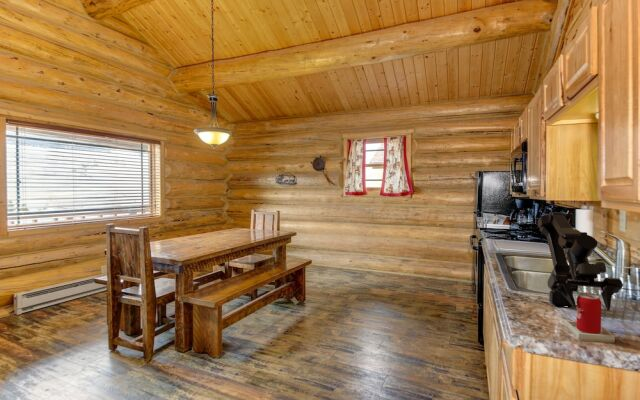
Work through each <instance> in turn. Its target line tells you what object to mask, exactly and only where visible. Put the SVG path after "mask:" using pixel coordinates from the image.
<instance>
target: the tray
mask: <svg viewBox="0 0 640 400" xmlns="http://www.w3.org/2000/svg"><path fill="white" fill-rule="evenodd" d="M564 322H565V323H564V326H565V328H566V329H567V330H568V331H570V333H571V334H572V335H574V337H575V338H576V339H577V340H579V341H587V342H589V341H590V342H601V343H603V342H604V343H612V344H613V343H614V344H615V342H616V341H615V339H616V336H615V335H614V334H613V333H611V332H610V331H609V330H608V329H607V328H605V327H604V326H603V325H601V333H600V334H586V333H582V332H580V331H579V330H578V329H577V320H564Z"/></svg>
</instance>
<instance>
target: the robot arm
mask: <svg viewBox="0 0 640 400" xmlns="http://www.w3.org/2000/svg"><path fill="white" fill-rule="evenodd" d="M537 227H538V228H539V230H540V232H541V234H542V235H543V236H545V238H546V241H547V244H548V248H549V252H550V256H551V260H552V265H553V269H552V271H551V273H550V276H549V277H548V280H547V287H548V288H549V289H550V291H549V299H548V301H549V302H550V303H551V304H552V306H554V307H555V308H562V307H561V306H568V307H574V309H575V308H577V303H576V301H575V298H574V292H577V293H578V289H579V287H589V288H590V287H592V288H600V289H601V291H602V292H601V293H600V294H601V297H602V300H603V301H602V302H603V304H604V307H605V308H606V311H610V310H611V303H612V296H613V295H614V294H617V293H619V291H621V289H622V288H623V287H624V284H623V281H622V280H621V279H620V278H619V277H604V278H603V280H602V281H601V280H600V281H599V280H595V279H598V276H599V275H601V274H605V273H606V272H607V266H606V263H605V262H603V261H602V262H601V261H598V262H596V263H590V261H589V257H591V256H592V254H593V253H594V251H595V250H596V248H597V246H598V241H597V239H595V238H594V237H593V236H592V235H589V234H588V232H586V231H584V232H583V231H581V230H577V229H574V228H573V226H572V225H571V224H570V222H569V221H568V219H567V218H566V215H565V213H564V212H561V211H560V212H557V211H556V212H553V211H551V212H549V213H547V214H545V215H542V216H539V218H538V220H537ZM565 250H567V251H566V253H565ZM568 307H567V308H568Z"/></svg>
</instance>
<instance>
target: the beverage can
mask: <svg viewBox="0 0 640 400" xmlns="http://www.w3.org/2000/svg"><path fill="white" fill-rule="evenodd" d="M576 321H577V329H578V330H579V331H580V332H582V333H586V334H600V333H601V326H602V300H601V298H600V296H599V295H597V294H594V293H591V292H590V293H589V292H579V294H578V295H577V298H576Z"/></svg>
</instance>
